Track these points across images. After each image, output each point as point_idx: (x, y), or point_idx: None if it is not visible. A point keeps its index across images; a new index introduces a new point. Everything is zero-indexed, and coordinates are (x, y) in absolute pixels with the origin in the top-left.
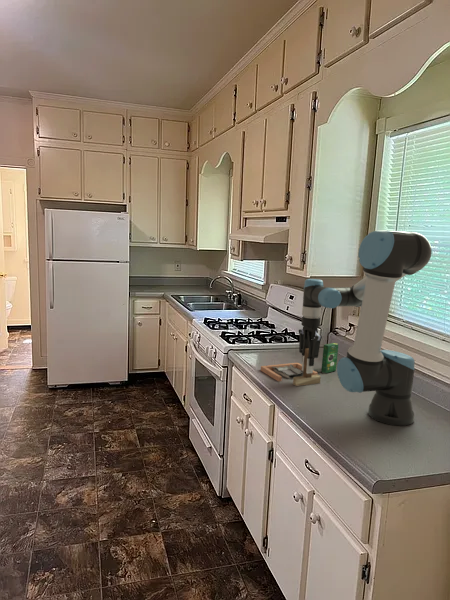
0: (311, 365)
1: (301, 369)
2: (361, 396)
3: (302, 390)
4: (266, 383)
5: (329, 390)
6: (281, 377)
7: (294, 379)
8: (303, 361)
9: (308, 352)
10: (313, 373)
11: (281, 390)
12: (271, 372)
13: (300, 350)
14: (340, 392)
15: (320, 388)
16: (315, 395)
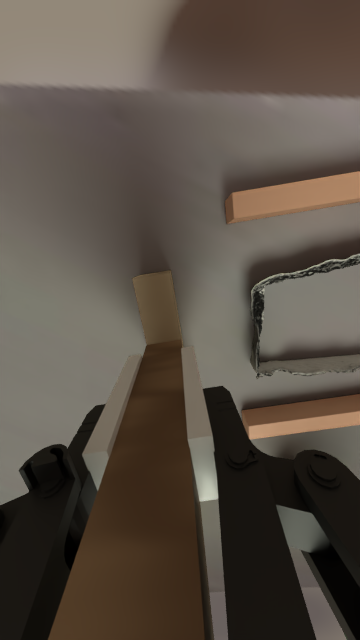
0: (93, 417)
1: (349, 398)
2: (14, 474)
3: (78, 280)
4: (208, 96)
5: (76, 398)
6: (232, 216)
7: (158, 273)
8: (184, 392)
9: (74, 570)
10: (258, 419)
11: (79, 152)
12: (330, 176)
13: (324, 494)
14: (53, 427)
15: (102, 374)
16: (11, 313)
